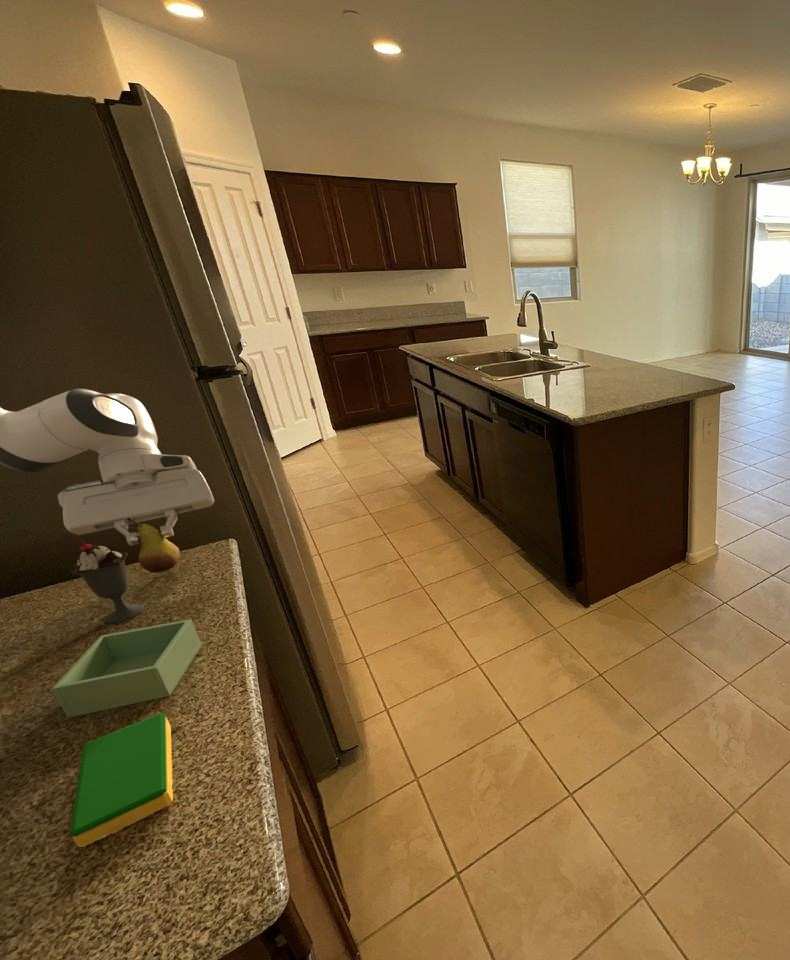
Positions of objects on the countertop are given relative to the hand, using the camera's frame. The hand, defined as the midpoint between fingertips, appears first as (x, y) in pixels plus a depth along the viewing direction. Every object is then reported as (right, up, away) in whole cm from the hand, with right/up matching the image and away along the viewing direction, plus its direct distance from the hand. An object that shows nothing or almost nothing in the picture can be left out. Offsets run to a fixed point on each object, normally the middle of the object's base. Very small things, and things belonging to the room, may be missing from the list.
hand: (151, 539), depth 94 cm
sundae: (+3, -12, -8) cm, 15 cm away
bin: (+19, -17, -22) cm, 33 cm away
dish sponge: (+32, -23, -36) cm, 54 cm away
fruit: (0, -6, +3) cm, 7 cm away
